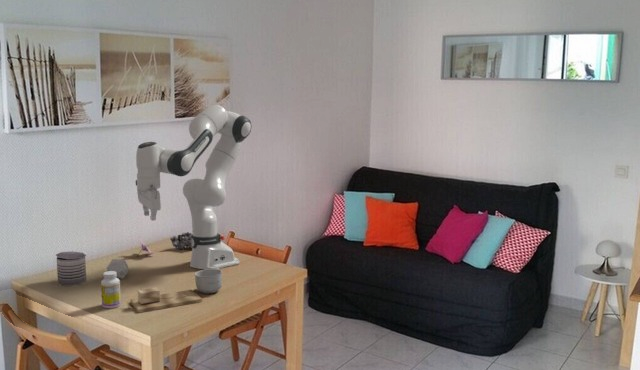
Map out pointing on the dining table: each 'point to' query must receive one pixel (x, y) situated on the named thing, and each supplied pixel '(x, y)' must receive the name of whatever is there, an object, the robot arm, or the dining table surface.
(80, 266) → the can
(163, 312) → the dining table surface
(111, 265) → the die
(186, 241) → the mineral specimen
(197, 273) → the teacup
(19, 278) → the dining table surface
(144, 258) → the dining table surface
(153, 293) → the block
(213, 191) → the robot arm
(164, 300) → the board
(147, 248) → the lily
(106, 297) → the supplement bottle
